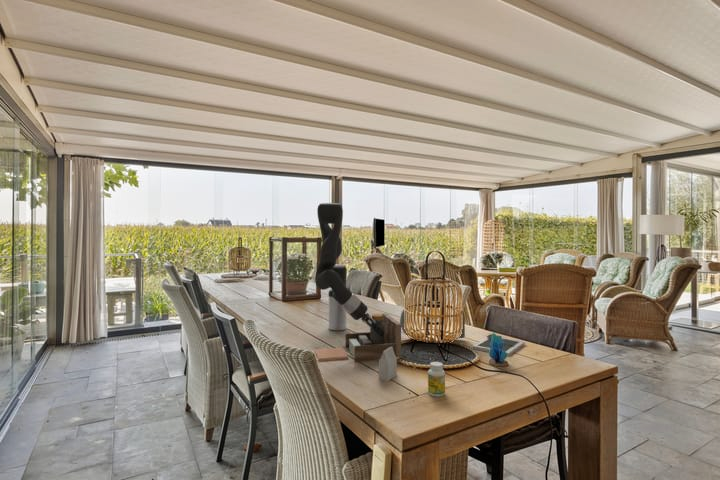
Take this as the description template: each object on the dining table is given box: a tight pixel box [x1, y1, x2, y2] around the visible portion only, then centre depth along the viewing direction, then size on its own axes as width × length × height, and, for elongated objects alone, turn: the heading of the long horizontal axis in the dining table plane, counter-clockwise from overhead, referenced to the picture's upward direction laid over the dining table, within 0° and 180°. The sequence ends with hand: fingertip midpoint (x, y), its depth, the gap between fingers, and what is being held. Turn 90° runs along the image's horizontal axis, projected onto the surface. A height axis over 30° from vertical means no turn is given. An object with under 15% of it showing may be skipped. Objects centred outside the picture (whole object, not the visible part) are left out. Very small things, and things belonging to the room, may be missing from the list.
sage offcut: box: [348, 339, 360, 357], centre depth 167 cm, size 14×3×4 cm, turn 12°
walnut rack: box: [344, 312, 402, 363], centre depth 168 cm, size 21×19×14 cm
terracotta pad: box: [314, 347, 349, 362], centre depth 165 cm, size 12×12×1 cm
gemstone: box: [488, 332, 509, 368], centre depth 154 cm, size 7×9×12 cm
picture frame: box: [471, 333, 526, 357], centre depth 176 cm, size 16×3×21 cm
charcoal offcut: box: [358, 335, 372, 345], centre depth 168 cm, size 12×3×6 cm, turn 13°
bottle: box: [369, 313, 384, 345], centre depth 169 cm, size 6×6×15 cm
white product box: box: [378, 347, 398, 382], centre depth 141 cm, size 4×7×10 cm, turn 150°
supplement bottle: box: [427, 361, 446, 397], centre depth 127 cm, size 5×5×10 cm
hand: (380, 332), depth 169 cm, fingers closed on bottle, 5 cm apart
